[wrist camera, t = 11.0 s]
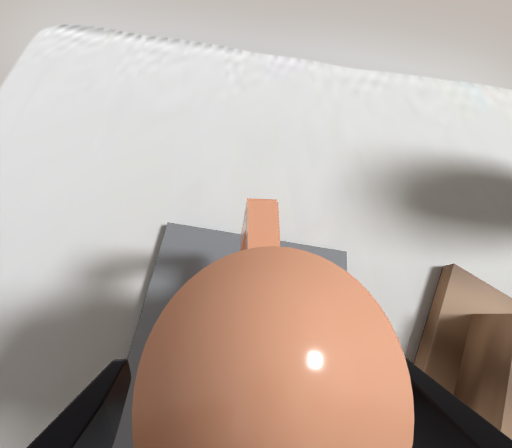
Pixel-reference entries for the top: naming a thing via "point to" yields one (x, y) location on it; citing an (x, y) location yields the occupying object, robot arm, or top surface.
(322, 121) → the top surface
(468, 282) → the jug holder
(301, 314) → the jug
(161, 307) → the slate mat
